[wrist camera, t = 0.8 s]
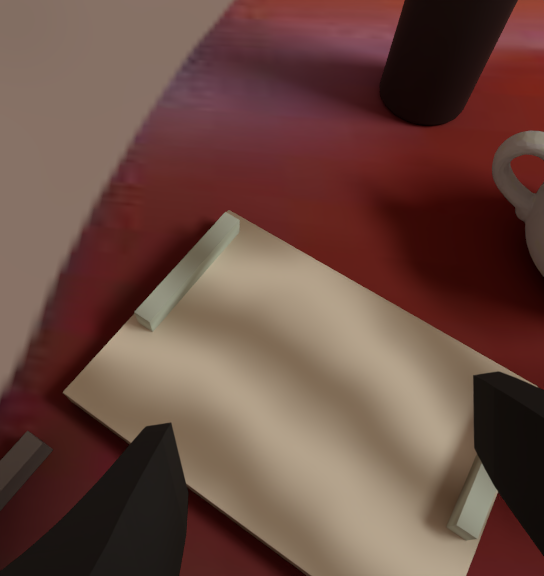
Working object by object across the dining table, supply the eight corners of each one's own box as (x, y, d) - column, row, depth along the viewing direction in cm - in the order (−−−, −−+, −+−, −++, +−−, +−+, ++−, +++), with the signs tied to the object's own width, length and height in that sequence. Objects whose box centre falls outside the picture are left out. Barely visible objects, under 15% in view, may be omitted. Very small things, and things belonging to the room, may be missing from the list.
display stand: (419, 658, 21) (442, 669, 19) (71, 401, 26) (54, 384, 23) (523, 395, 28) (550, 379, 25) (228, 224, 32) (228, 197, 30)
